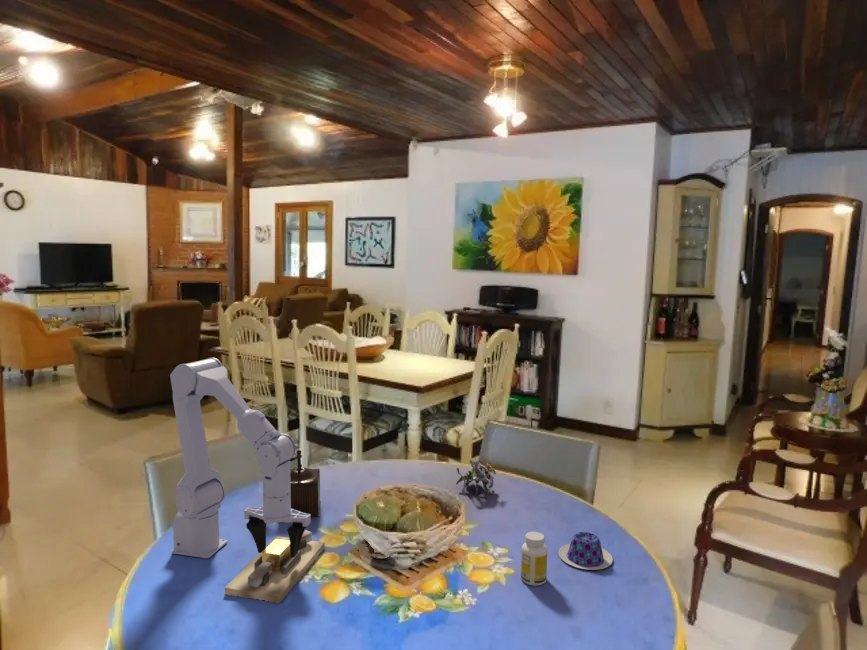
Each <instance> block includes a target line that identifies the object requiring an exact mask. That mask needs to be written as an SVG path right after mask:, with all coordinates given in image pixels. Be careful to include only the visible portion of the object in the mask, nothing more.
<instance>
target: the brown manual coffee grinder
mask: <svg viewBox="0 0 867 650" xmlns="http://www.w3.org/2000/svg"><path fill="white" fill-rule="evenodd" d="M295 455H296V456H293V457H292V458H291V459H290V462H293V461H295V460H297V466H296V467H294V468H292V469H291V468H290V480H291V509H294V510H297V511H300V512H303V513H306V514H311V518H318V517H319V515H320V508H321V503H322V502H321V469H320V468H309V467H303V465H302V460H301V459H302V458H303V456H302V450H301V449H296V452H295ZM288 461H289V460H288Z"/></svg>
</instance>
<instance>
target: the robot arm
mask: <svg viewBox="0 0 867 650" xmlns="http://www.w3.org/2000/svg"><path fill="white" fill-rule="evenodd" d="M169 377H170V384H171V390H172V403H173V408H174V413H175V419H176V426H177V432H178V438H179V444H180V449H181V457H182V461H183V468H184V474H183V475H182V476H181V478H180V480H179V481H178V483H177V484H176V497H175V506H176V509H177V510H178V511H177V513H176V514H175V516H174V519H173V524H172V528H173V529H172V531H173V532H172V534H173V535H172V536H173V549H172V550H171V553H172V554H175V555H180V556H181V555H182V556H187V557H188V556H189V557H194V558H202V559H209V558H211V557H212V556H213V555H214V554H216V552H217V551H219V550H220V549H221V548H222V547H224V546H225V545H226V544H227V543H228V539H223V538H220V517H219V516H220V515H219V513H220V511H219V509H220V508H221V503H222V502H223V501H224V500H225V499H226V492H227V490H226V486H225V485H224V482H223V481H222V479H221V475H220V474H221V473H220V472H219V471H218V470H216V469H214V468H212V467H211V463H210V457H209V449H208V444H207V443H208V442H207V439H206V432H205V427H204V426H205V425H204V419H203V413H202V406H201V400H202V399H203V398H204V396H212V397H214V398H215V399H216V400H217V401H218V402H219V403H220V404H221V405H222V406H223V407H224V408H225V409H226V410H227V411H228V412H229V413H230V414H231V415H232V416H233V417H234V418H235V419H236V420H237V423H236V424H237V426H236V428H237V430H238V431H239V432H240V433H241V434H242V436H243V437H244V438H245V439H246V440H247V442H248V443H249V444H250V445H251V446H252V447H253V448H254V450H255V451H256V453H255V459H256V461H257V463H258V465H259V468H260V473H261V475H262V505H263V506H248V507H247V508H245V509H244V510H243V512H244V515H243V516H244V520H248V522H246V525H245V526H246V529H247V530H248V531H249V533H250V535H251V536H252V538H253V540H254V544H255V546H256V550H257V553H258V554H259V553H261V552H262V551H263V550H264V549H265V548H266V547H267V525H268V524H269V525H270V524H271V525H272V524H275V523H287V524H292V525H290V526H289V527H288V529H287V530H286V531H287V534H288V538H289V539H290V555H291V557H293V558H294V557H295V556H296V555H297V554H298V549H299V545H300V541H301V538H302V535H303V533H304V531H305V530H306V528H307V527H308V526H309V525H310V524H311V523H312V522H311V521H312V519H311V518H312V517H311V514H306V513H303V512H300V511H297V510H294V509H291V480H290V470H291V461H290V459H291V458H293V457H295V455H296V452H297V449H296V444H295V441H294V440H293V439H292V436H290V435H289V434H287V433H282V432H281V431H280V430H277V429H276V428H275V427H274V426H273V424H271V422H270V421H269V420H268V419H267V418H266V415H265V414H264V413H263V411H262V412H261V411H260V410H259V409H251V408H250V406H249V405H248V404H247V402H246V401H245V400H244V398H243V397H242V395H241V394H240V393H239V391H238V390H237V389H236V387H235V386H234V385H233V383H232V382H231V381H230V379H229V378H228V377H229V376H228V368H226V367H225V366H224V365H223V364H222V362H221V361H220V360H219V359H218V358H216V357H208V358H206V359H201V360H198V361H192V362H187V363H181V364H178V365H177V366H176V367H174V369H173V370H172V372H171V373H170V375H169ZM288 460H289V461H288Z"/></svg>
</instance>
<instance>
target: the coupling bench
mask: <svg viewBox="0 0 867 650" xmlns="http://www.w3.org/2000/svg"><path fill="white" fill-rule="evenodd" d="M312 533H313V532H311V531H309V530H308V529H305V531H304V533H303V535H302V538H301V541H300V545H299V549H298V554H297V555H296V556H295V557H294V558H293V557H290V558H289V559H288V560H287V561H286V563H285V564H284V565H283V566H282V567H281V572H280V573H279V572H272V563H270V562H264V561H263V562H262V552H263V551H264V550H265V549H266V548H267V547H268V546H269V545H270V544H271V543H272V542H273V541H274V540H275V539H281V540H289V541H290V539H289V536H288V537H287V536H286V537H285V536H280V535H279V536H278V535H277V536H276V537H274V538H273V540H272V541H270V542H269V544H267V545H266V548H265V549H264V550H263V551H262V552H261V553H258V554H257V555H256V556H255V557H254V558H253V559H252V560H251V561H250V562H249V563H248V564H247V565H246V566H245V567H244V568H243V569H242V570H241V571H240V572H238V574H237V575H236V576H235V577H234V578H233V579H232V580H231V581H230V582H228V584H226V586H225V587H224V595H225V594H227V595H226V596H231V595H232V597H237V596H240V597H239V598H243V597H246V598H245V599H249V598H253V599H252V600H256V599H259V600H258V601H262V600H265V601H264V602H268V601H269V603H275V602H276V603H277V604H281V602H283V600H284V599H285V598H284V597H287V595H288V594H289V593H290V591H291V590H292V589H293V588H294V587H295V586H296V584H297V583H298V582H299V581H300V579H301V578H302V577H303V576H302V575H304V574H305V573H306V572H307V571H306V570H309V568H310V567H311V566H312V565H313V563H314V562H315V561H316V560H317V559H318V557H319V556H320V555H321V554H322V553H323V551H324V550H325V549H324V548H325V545H326V544H325V542H324V541H317V540H313V539H312ZM323 549H324V550H323ZM320 553H321V554H320ZM319 554H320V555H319ZM318 555H319V556H318ZM315 559H316V560H315ZM314 560H315V561H314ZM311 564H312V565H311ZM310 565H311V566H310ZM301 576H302V577H301ZM297 581H298V582H297ZM293 586H294V587H293ZM292 587H293V588H292ZM288 592H289V593H288Z"/></svg>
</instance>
